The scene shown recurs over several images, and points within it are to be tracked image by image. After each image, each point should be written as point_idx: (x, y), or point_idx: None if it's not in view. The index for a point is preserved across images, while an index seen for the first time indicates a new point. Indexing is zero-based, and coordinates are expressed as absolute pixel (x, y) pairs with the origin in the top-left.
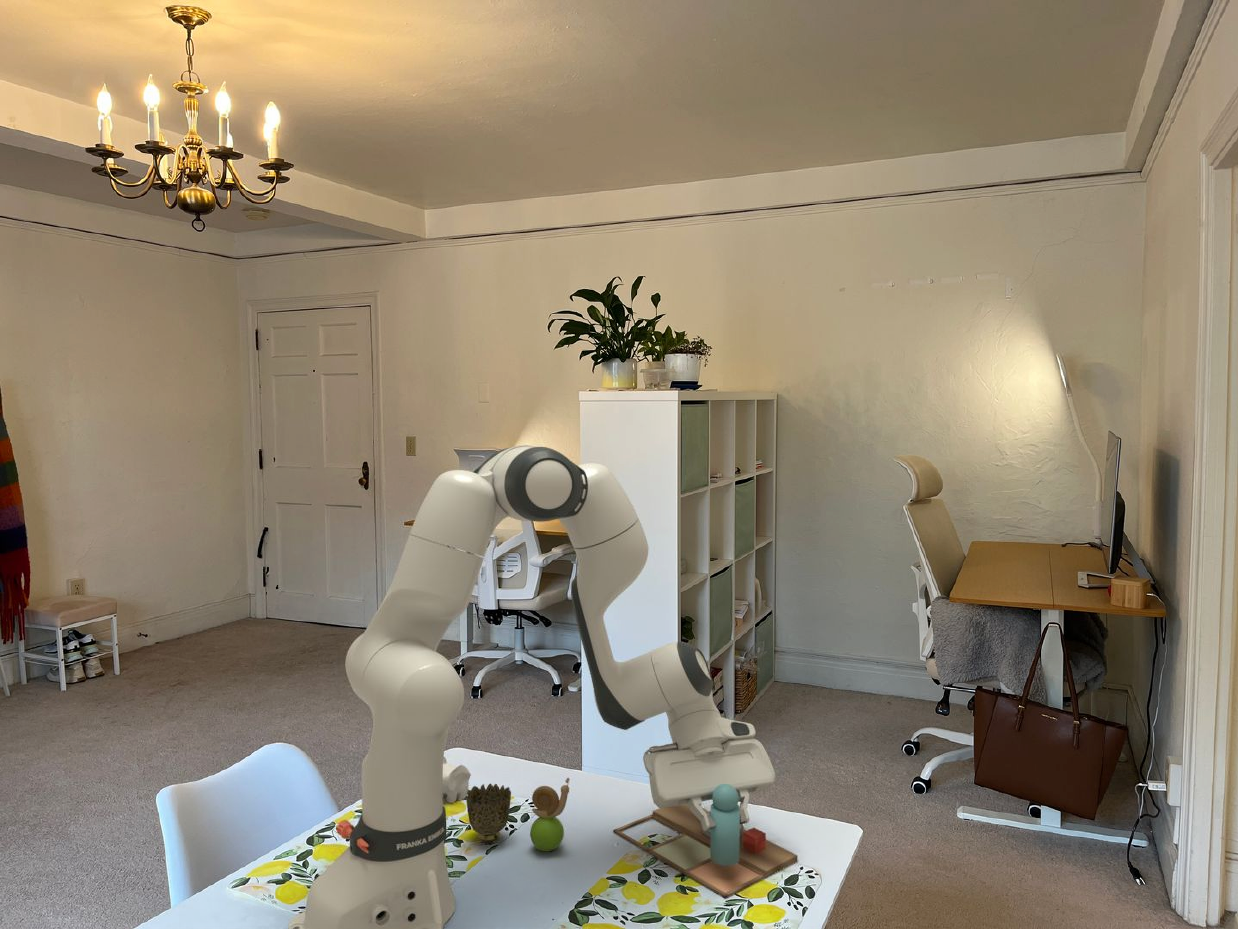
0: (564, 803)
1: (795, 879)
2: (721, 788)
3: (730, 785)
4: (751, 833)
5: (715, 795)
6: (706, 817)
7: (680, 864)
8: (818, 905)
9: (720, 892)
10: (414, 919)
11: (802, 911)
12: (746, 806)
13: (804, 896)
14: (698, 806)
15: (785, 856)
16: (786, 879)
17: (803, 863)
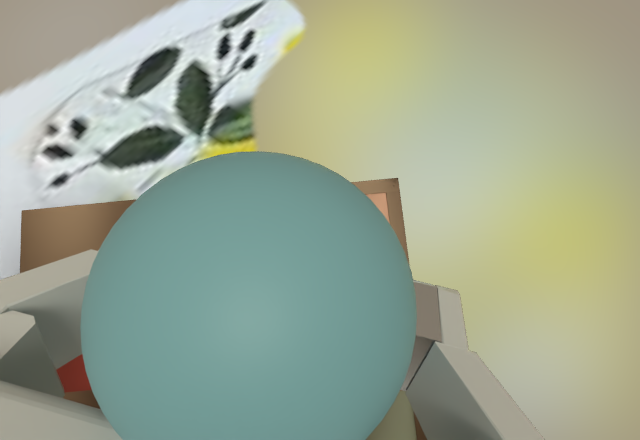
0: None
1: (131, 142)
2: (333, 302)
3: (130, 292)
4: (77, 358)
5: (415, 326)
6: (448, 331)
7: (402, 433)
8: (188, 12)
9: (399, 201)
10: None
11: (248, 16)
12: (82, 257)
13: (184, 63)
14: (515, 432)
15: (61, 228)
16: (154, 157)
17: (31, 196)
